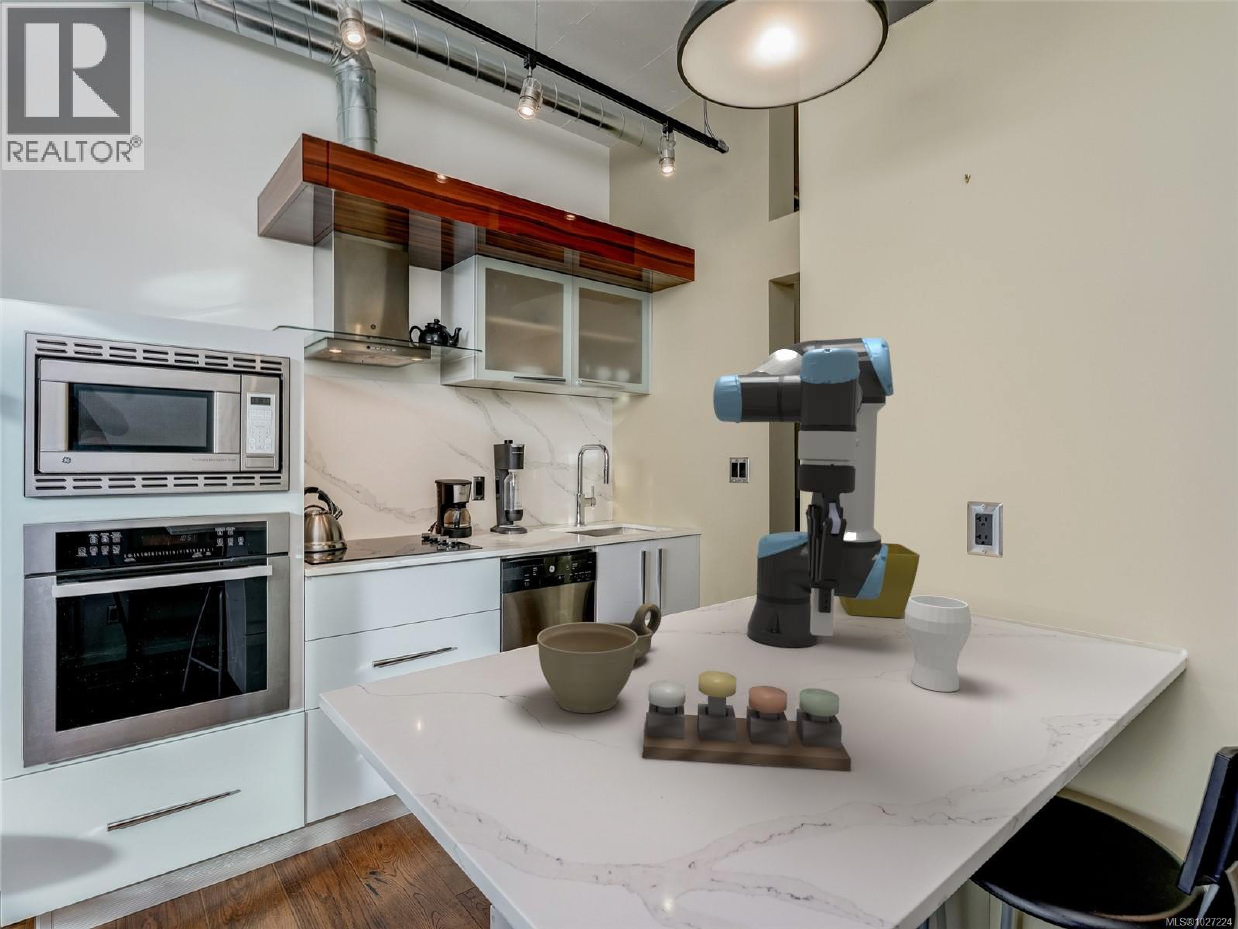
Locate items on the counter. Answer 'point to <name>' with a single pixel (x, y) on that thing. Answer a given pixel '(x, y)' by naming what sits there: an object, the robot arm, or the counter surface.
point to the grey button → (666, 695)
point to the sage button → (819, 704)
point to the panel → (745, 739)
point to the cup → (937, 639)
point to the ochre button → (717, 690)
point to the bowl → (644, 627)
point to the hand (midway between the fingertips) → (821, 633)
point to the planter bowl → (587, 663)
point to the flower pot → (889, 586)
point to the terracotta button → (767, 701)
